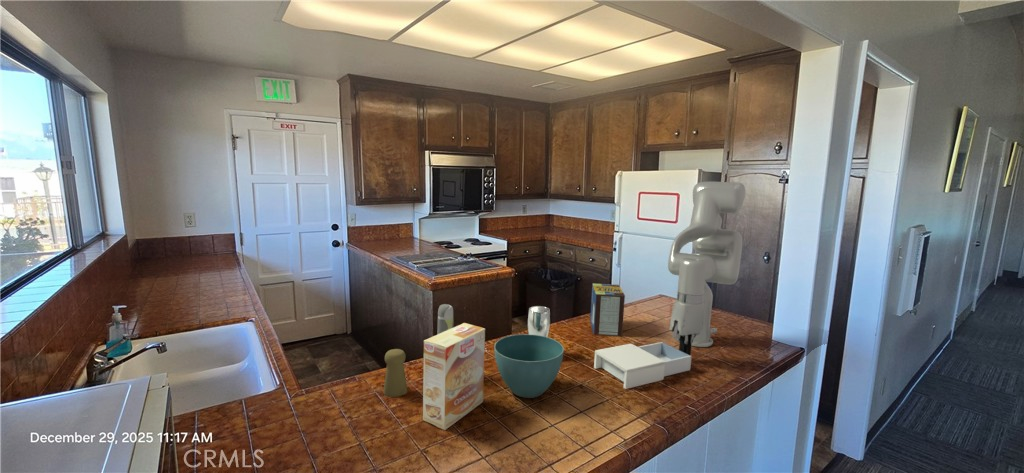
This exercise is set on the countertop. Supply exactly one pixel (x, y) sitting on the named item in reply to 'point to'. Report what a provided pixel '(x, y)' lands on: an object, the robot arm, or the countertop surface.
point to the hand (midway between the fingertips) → (684, 354)
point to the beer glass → (539, 320)
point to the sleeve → (632, 364)
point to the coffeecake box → (453, 374)
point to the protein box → (607, 309)
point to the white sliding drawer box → (672, 357)
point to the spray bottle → (445, 318)
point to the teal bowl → (528, 363)
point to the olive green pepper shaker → (395, 373)
